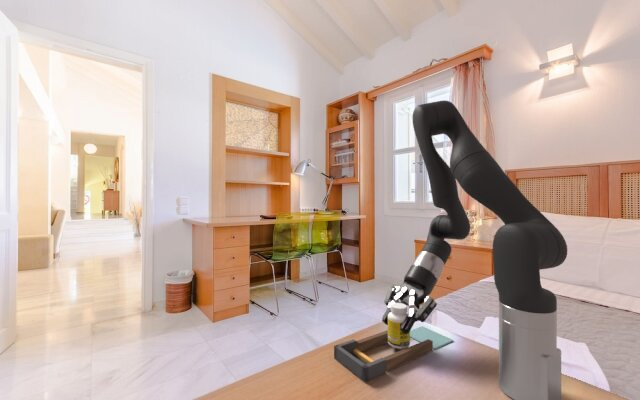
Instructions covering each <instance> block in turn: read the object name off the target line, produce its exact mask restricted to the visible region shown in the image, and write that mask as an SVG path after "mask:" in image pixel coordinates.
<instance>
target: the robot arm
mask: <svg viewBox="0 0 640 400" xmlns="http://www.w3.org/2000/svg"><path fill="white" fill-rule="evenodd" d="M412 112H413V113H412V127H413V131H414V134H415V137H416V140H417V144H418V148H419V150H420V153H421V157H422V160H423V163H424V166H425V168H426V172H427V177H428V180H429V186H430V192H431V198H432V204H433V205H434V207H436V208H437V209H442V210H444V211H445V212H446V214H439V215H436V216H435V217H434V218H433V219H432V220H431V222H430V224H429V228H428V233H427V237H426V241H425V244H424V246H422V249H421V250H420V252H419V253H418V255H417V256H416V257H415V258H414V260H413V262H412V264H411V266H410V267H409V269H408V271H407V272H406V274H405V275H404V278H403V283H402V284H401V285H400V286H395V284H390V286H389V288H388V291H387V293H386V296H385V298H384V300H383V303H384V304H385V305H386V307H387V308H386V310H385V312H384V314H383V315H382V320H381V321H382V322H383V324H385V325H386V326H388V314H389V313H390V312H391V304H392V303H402V304H405V305H406V306H407V307H408V309H409V310H408V315H409V316H407V317H406V318H405V320H404V322H403V324H402V326H401V328H400V330H401V331H402V332H403V333H404V334H407V333H409V332H410V330H412V329H413V326H414V325H415V323H416V322H421V323H424V322H425V321H426V320H427V319H428V317H429V316H430V315H431V313H432V312H433V311H434V309H436V307H437V305H438V303H437V302H436V301H435V299H434V298H433V296H429V295H430V294H431V293H432V292H433V290H434V288H435V286H436V284H437V282H438V281H439V279H440V277H441V275H442V273H443V270H444V267H445V266H446V264H447V262H448V260H449V257H451V256H450V255H451V253H452V246H451V245H450V244H449V242H448V241H446V240H445V239H447V240H458V241H460V240H462V241H463V240H465V239H466V238H467V237H468V236H469V234H470V233H471V222H470V219H469V217H468V215H467V213H466V210H465V209H464V206H463V204H462V202H461V200H460V195H459V191H458V190H459V189H458V185H457V183H458V184H459V186H460V187H461V188H462V190H463V191H464V193H466V194H467V195H468V196H470V197H471V198H472V199H473V200H475V201H476V202H477V203H479V204H481V205H482V206H484V207H486V208H487V210H490V211H491V212H492V213H493V214H494V215H496V216H497V217H498V218H499V219H500V220H501V221H502V222H503V224H504V225H502V226H499V228H497V230H496V232H495V234H494V236H493V239H492V241H493V242H492V263H493V280H494V285H495V288H496V290H497V293H498V385H499V388H500V390H501V391H502V392H503V393H504V394H505V395H506V396H508V397H510V398H511V399H512V400H562V350H561V348H558V346H557V345H558V344H557V343H558V341H557V339H558V337H557V336H558V335H557V331H558V329H557V326H558V325H557V322H558V321H557V320H558V319H557V314H558V311H557V309H558V304H557V303H558V301H557V296H556V294H555V293H554V292H552V291H551V290H549V289H546V288H544V287H542V285H541V273H540V272H541V271H542V270H547V269H548V270H549V269H553V268H556V267H559V266H561V265H562V264H563V263H564V262H565V261H566V259H567V255H568V245H567V242H566V240H565V238H564V236H563V234H562V233H561V231H560V230H559V229H558V228H557V227H556V225H554V224H553V223H552V222H551V221H550V219H548V218H547V217H546V216H545V215H544V214H543V213H542V212H541V211H540V210H539V209H538V208H536V206H535V205H534V204H532V202H531V201H529V200H528V198H527V197H526V196H525V195H524V194H523V193H522V191H520V189H519V187H517V186H516V184H515V183H514V182H513V180H512V179H510V177H509V176H508V175H507V173H506V172H505V171H504V170H503V169H502V167H501V166H500V165H499V162H497V160H496V159H495V158H494V157H493V156H492V155H491V153H490V152H489V151H488V150H487V149H486V148H485V147H484V145H482V143H481V142H480V140H478V138H477V137H476V135H475V134H474V133H473V131H472V130H471V128H470V127H469V126H468V124H467V123H466V121H465V119H464V118H463V116H462V115H461V112H459V110H458V108H457V107H456V105H454V104H453V102H452V101H449V100H439V101H432V102H428V103H426V102H425V103H421V104H419V105H416V106H415V108H414V109H413V111H412ZM440 135H445V136H447V137H448V139H449V140H450V142H451V144H452V148H451V153H450V159H449V164H448V163H447V162H446V161H445V160H444V159H443V157H442V156H441V155H440V154H439V152H438V151H437V149H436V147H435V144H434V142H433V137H434V136H440ZM540 270H541V271H540Z"/></svg>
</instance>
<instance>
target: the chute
mask: <svg viewBox="0 0 640 400" xmlns="http://www.w3.org/2000/svg"><path fill="white" fill-rule="evenodd" d="M385 344H388V329H387V330H385V331H381V332H378V333H376V334H373V335H369V336H367V337H364V338H361V339H359V340H356V349H357V350H359V351H360V352H362V353H364V352H366V351H369V350H372V349H375V348H377V347H379V346H382V345H385ZM433 351H434V349H433V341H432V340H429V339H428V340H425V341H423V342H418V343H416V344H414V345H411V346H409V347H407V348H404V349H400V350H399V351H396V352H394V353H391V354H389V355H387V356H384V357H383V358H384V359H386V373H387V372H390V371H392V370H394V369H397V368H398V367H401V366H403V365H404V364H407V363H409V362H411V361H413V360H416V359H418V358H420V357H422V356H425V355H427V354H429V353H432V352H433Z"/></svg>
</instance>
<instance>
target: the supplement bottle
mask: <svg viewBox="0 0 640 400" xmlns="http://www.w3.org/2000/svg"><path fill="white" fill-rule="evenodd" d="M407 307H408V306H407V305H405V304H402V303H392V304H391V312H390V313H389V314H388V325H387V330H388V343H387V344H388V345H389V346H390V347H392V348H395V349H400V350H403V349H406V348H408V347H410V345H411V343H410V341H411V338H410V332H409V333H407V334H404V333H403V332H402V331H401V330H400V328H401V326H402V324H403V322H404V320H405V318H406V317H407V316H409V313H407V312H408V308H407Z"/></svg>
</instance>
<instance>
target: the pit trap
mask: <svg viewBox="0 0 640 400" xmlns="http://www.w3.org/2000/svg"><path fill="white" fill-rule="evenodd" d="M356 341H357V340H355V338H354V339H350V340H348V341H344V342H342V343H338V344H335V345H333V357H334V360H335V361H337V362H338V363H339V364H341V365H342V366H343V367H344V368H346V369H347V370H348V371H349V372H350V373H352V374H353V375H354V376H356V377H357V378H358V379H359V380H360V381H362V382H363V383H368V382H370V381H372V380H375V379H376V378H379V377H381V376H383V375H386V374H387V372H386V359H384V357H380V358H378V359H376V360H375V359H372V358H371V357H370V356H368V355H366V354H365V353H364V352H360V351H359V350H357V349H356Z"/></svg>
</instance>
